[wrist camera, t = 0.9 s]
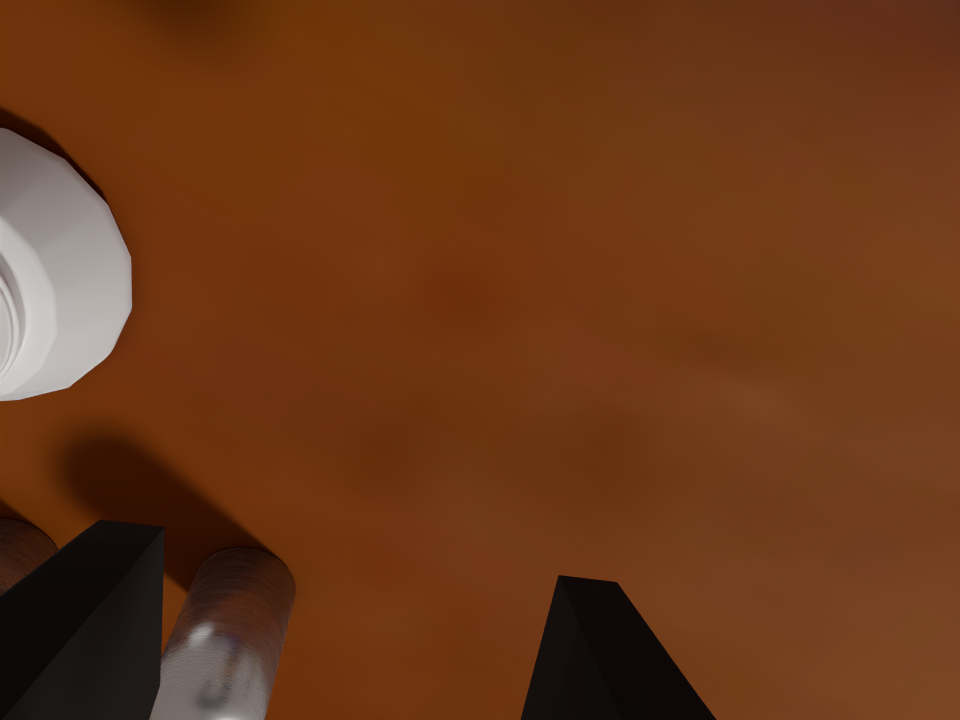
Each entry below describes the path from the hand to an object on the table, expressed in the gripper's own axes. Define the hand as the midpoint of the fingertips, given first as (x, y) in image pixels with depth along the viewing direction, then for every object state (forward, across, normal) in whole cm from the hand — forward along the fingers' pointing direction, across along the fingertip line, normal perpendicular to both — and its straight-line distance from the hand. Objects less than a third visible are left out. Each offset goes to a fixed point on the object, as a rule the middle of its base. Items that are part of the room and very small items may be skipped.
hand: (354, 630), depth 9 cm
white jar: (+9, +7, 0) cm, 11 cm away
